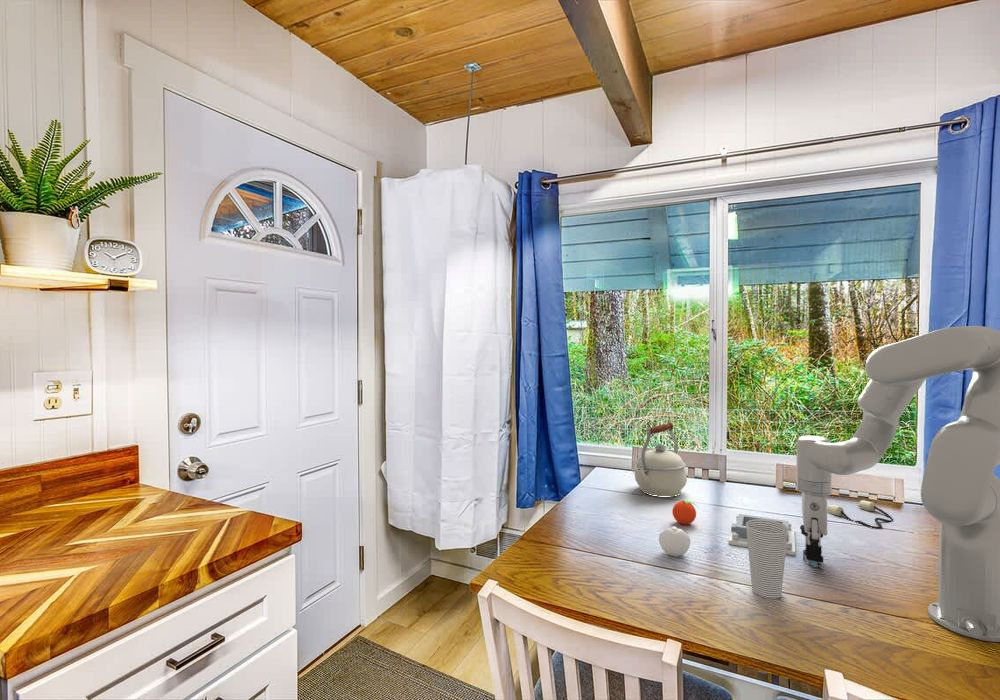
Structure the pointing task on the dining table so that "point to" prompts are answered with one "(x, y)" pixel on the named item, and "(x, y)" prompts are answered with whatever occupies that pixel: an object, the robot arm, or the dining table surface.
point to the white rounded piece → (674, 541)
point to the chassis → (740, 532)
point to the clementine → (684, 512)
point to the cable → (863, 505)
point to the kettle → (660, 467)
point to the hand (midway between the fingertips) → (813, 555)
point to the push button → (813, 563)
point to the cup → (766, 556)
